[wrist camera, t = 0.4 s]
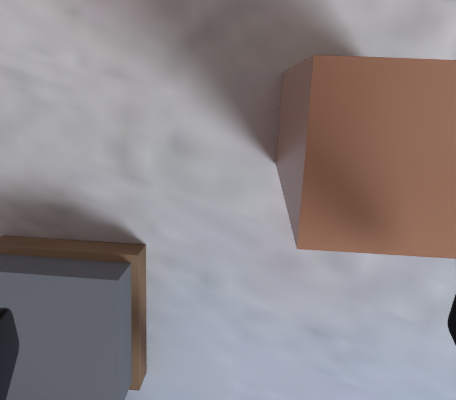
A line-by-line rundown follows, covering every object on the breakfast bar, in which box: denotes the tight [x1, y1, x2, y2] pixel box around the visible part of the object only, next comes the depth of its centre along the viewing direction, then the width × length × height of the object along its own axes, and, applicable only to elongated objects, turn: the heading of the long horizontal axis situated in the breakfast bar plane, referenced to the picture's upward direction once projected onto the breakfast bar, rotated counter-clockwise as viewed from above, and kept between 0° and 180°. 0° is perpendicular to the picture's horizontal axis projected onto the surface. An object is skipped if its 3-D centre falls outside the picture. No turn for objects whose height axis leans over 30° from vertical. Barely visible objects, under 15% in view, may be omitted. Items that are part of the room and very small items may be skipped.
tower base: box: [0, 236, 146, 390], centre depth 25 cm, size 8×8×2 cm
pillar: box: [276, 55, 456, 259], centre depth 16 cm, size 4×4×12 cm
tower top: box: [0, 254, 132, 400], centre depth 22 cm, size 7×7×2 cm
